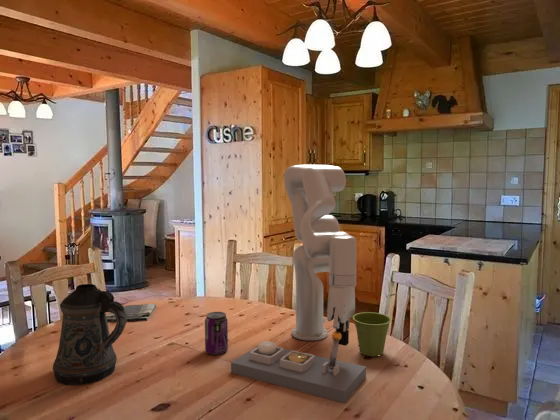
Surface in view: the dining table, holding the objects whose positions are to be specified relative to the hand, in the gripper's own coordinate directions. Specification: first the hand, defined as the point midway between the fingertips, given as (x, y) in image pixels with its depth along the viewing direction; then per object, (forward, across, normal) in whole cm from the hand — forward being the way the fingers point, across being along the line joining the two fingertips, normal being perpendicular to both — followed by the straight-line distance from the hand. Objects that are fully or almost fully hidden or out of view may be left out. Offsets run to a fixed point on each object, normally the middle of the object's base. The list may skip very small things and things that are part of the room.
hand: (342, 343), depth 123 cm
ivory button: (+3, +8, -20) cm, 22 cm away
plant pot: (+8, -17, +3) cm, 19 cm away
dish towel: (+9, -8, -94) cm, 95 cm away
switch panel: (+8, +8, -10) cm, 15 cm away
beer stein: (+8, +34, -62) cm, 72 cm away
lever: (+5, +8, 0) cm, 9 cm away
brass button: (+5, +8, -10) cm, 14 cm away
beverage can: (+8, +6, -40) cm, 41 cm away
